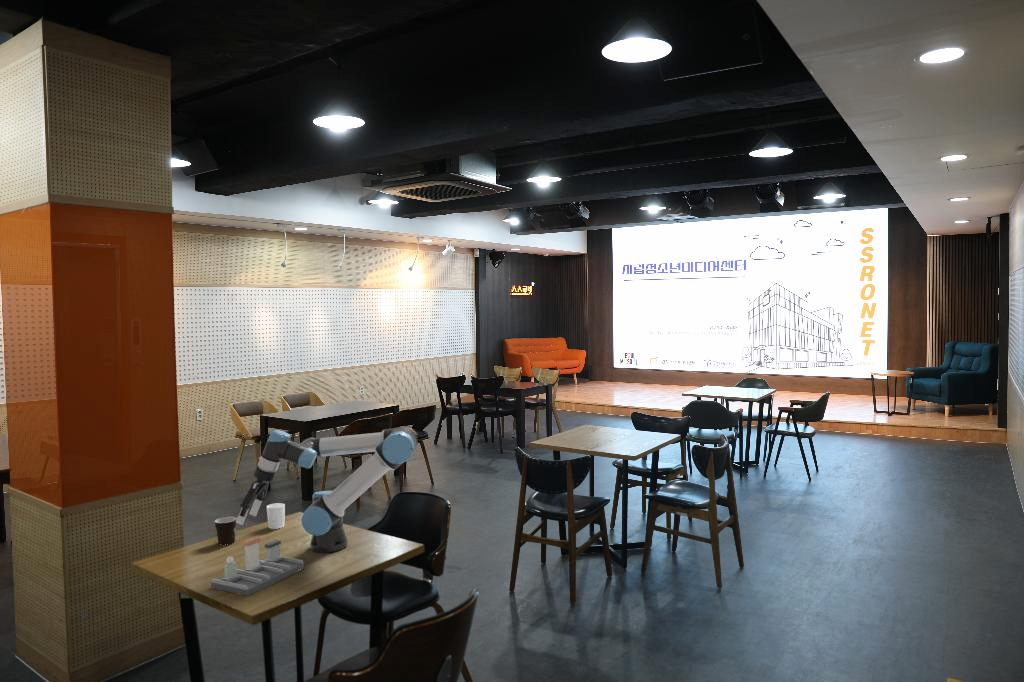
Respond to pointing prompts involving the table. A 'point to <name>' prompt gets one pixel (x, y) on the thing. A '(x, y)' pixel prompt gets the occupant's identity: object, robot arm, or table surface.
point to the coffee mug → (226, 530)
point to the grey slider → (273, 551)
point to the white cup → (276, 515)
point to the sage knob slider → (230, 570)
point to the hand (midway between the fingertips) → (245, 519)
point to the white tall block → (252, 554)
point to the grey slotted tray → (260, 576)
